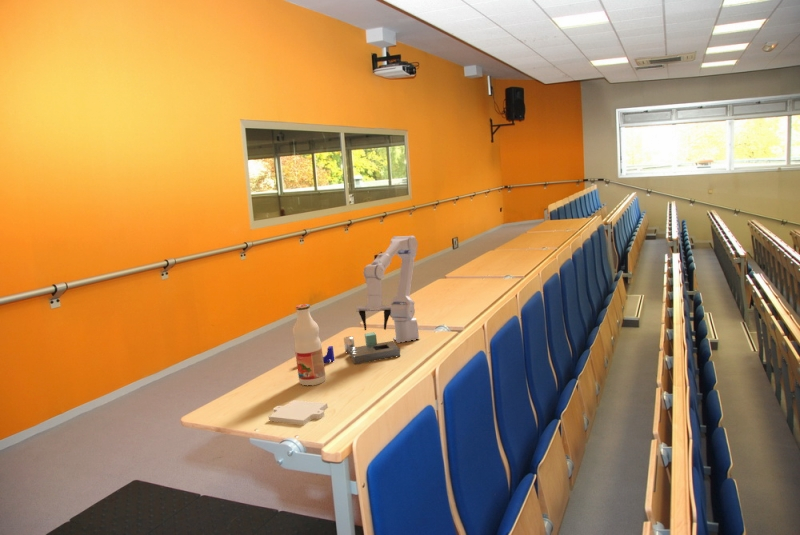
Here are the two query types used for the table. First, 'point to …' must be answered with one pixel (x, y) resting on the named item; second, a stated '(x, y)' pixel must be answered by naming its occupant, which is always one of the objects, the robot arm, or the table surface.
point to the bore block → (374, 352)
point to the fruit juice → (308, 348)
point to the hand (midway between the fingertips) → (375, 329)
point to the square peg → (370, 338)
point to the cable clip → (329, 355)
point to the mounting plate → (298, 412)
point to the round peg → (349, 343)
